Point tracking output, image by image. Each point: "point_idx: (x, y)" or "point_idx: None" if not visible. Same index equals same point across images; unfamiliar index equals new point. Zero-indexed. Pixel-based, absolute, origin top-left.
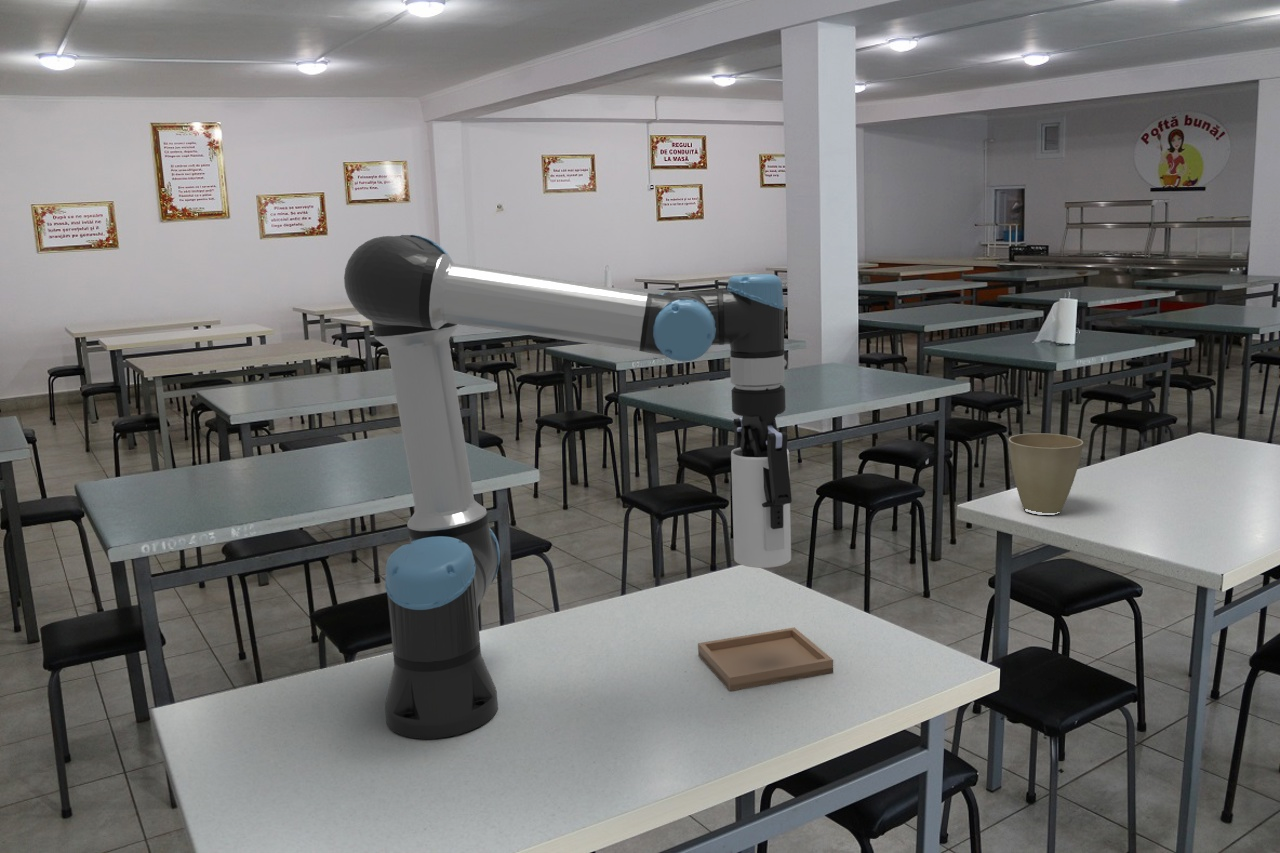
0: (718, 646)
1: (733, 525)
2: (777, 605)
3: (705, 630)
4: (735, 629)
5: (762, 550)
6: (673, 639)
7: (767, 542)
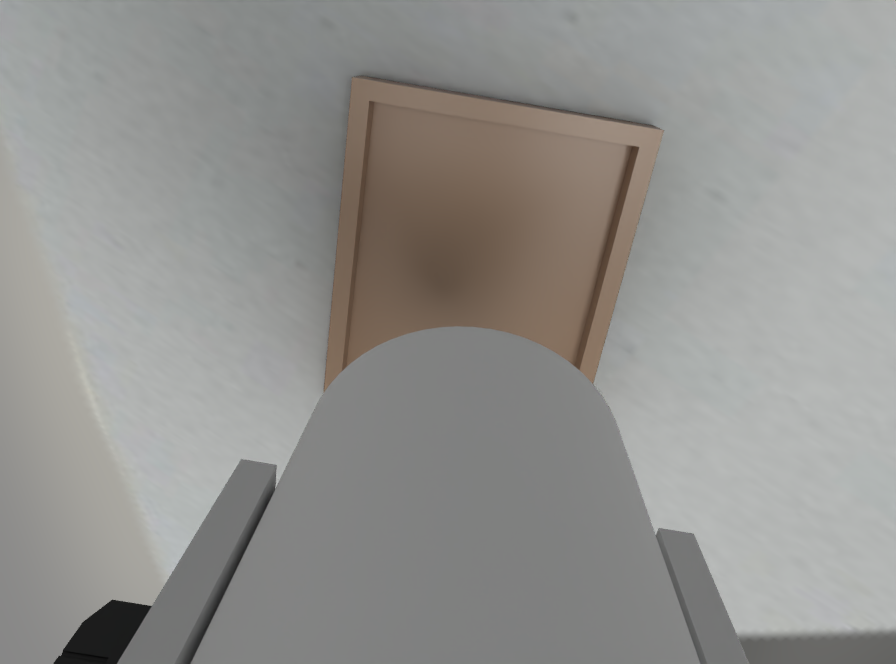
0: (623, 195)
1: (549, 473)
2: (805, 525)
3: (811, 253)
4: (747, 337)
5: (293, 454)
6: (830, 117)
7: (216, 501)
